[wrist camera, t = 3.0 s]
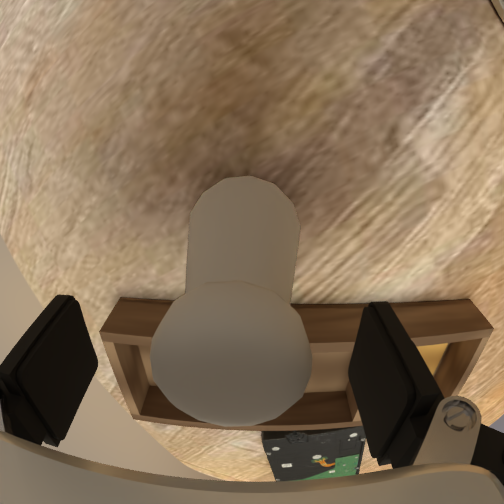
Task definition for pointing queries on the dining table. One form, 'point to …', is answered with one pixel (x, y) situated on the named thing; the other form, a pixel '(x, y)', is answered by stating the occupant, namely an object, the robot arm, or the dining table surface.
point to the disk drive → (314, 452)
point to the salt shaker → (236, 310)
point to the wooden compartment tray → (323, 358)
